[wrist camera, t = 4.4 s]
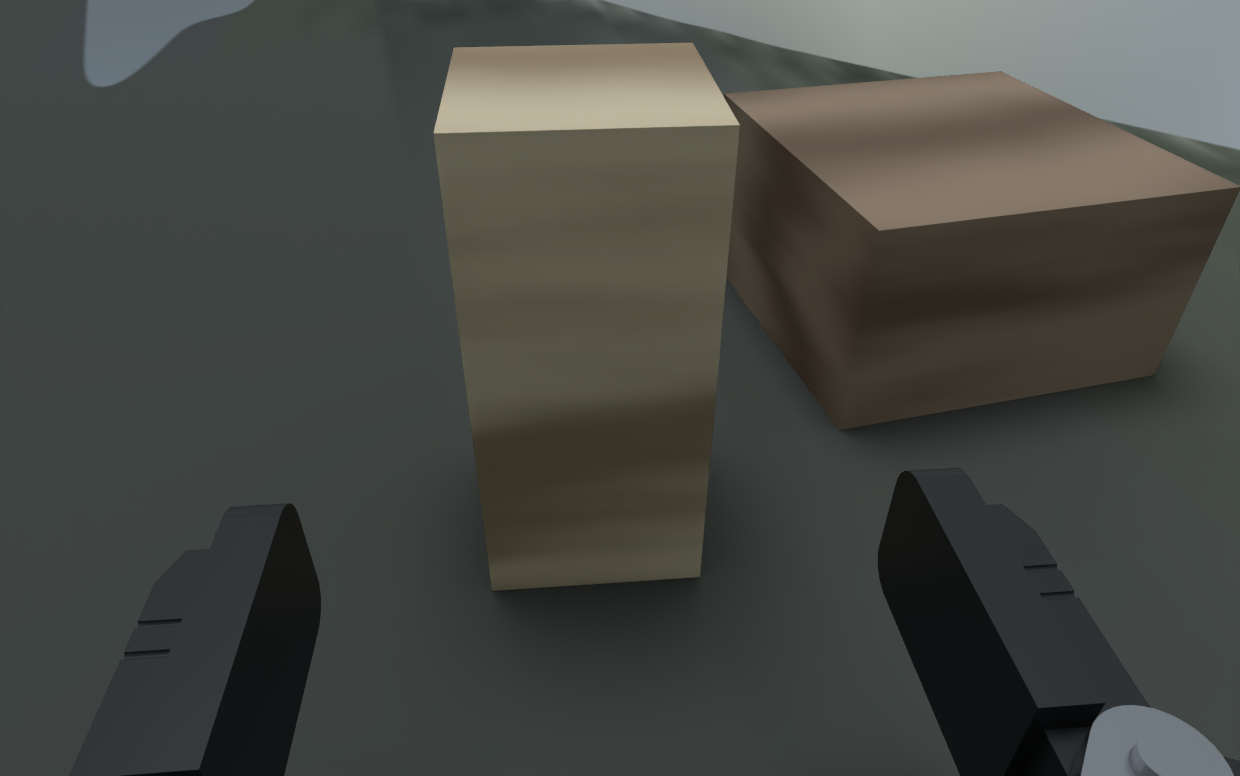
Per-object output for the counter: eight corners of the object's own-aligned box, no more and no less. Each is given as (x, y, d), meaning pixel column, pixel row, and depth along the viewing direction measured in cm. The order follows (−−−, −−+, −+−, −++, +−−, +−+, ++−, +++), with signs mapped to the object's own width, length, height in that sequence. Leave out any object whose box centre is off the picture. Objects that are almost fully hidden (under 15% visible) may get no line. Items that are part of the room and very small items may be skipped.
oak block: (699, 577, 19) (739, 124, 13) (492, 591, 18) (433, 134, 12) (671, 443, 22) (692, 42, 16) (497, 453, 22) (453, 47, 16)
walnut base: (1151, 381, 25) (1241, 187, 21) (837, 435, 23) (879, 230, 19) (958, 232, 33) (1001, 71, 29) (711, 263, 31) (724, 93, 27)
